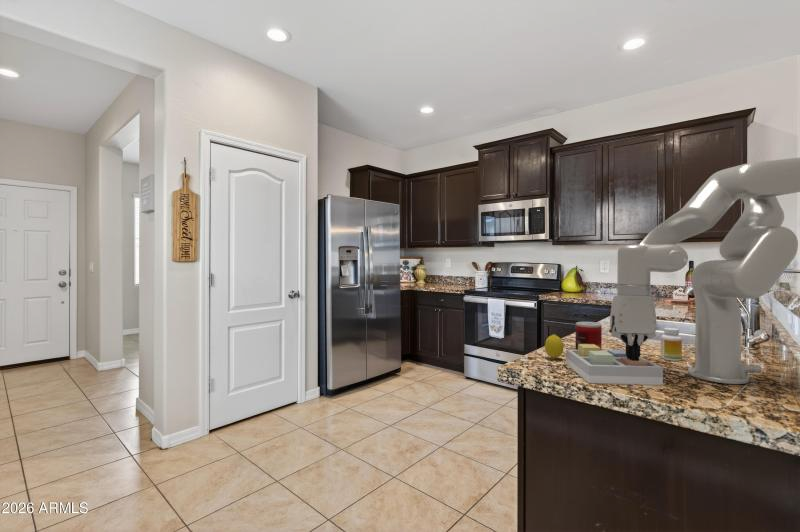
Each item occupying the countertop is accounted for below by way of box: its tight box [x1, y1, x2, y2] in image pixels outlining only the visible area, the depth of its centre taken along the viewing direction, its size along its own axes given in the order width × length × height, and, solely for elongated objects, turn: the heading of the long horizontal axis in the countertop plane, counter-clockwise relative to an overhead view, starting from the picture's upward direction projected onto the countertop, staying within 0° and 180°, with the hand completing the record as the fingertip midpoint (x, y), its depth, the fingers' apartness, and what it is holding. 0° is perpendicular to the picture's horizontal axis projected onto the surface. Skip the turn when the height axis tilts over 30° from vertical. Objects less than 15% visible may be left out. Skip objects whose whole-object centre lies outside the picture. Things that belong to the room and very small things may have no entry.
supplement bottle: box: [660, 327, 683, 362], centre depth 122 cm, size 5×5×10 cm
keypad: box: [566, 349, 664, 386], centre depth 107 cm, size 18×18×4 cm
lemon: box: [544, 333, 564, 360], centre depth 123 cm, size 6×6×8 cm
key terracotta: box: [621, 357, 647, 366], centre depth 103 cm, size 5×5×3 cm
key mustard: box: [578, 344, 600, 357], centre depth 112 cm, size 5×5×3 cm
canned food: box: [575, 321, 603, 350], centre depth 126 cm, size 8×8×11 cm
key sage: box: [589, 351, 613, 365], centre depth 103 cm, size 5×5×3 cm
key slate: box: [607, 349, 627, 357], centre depth 111 cm, size 5×5×3 cm
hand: (632, 359), depth 103 cm, fingers closed
